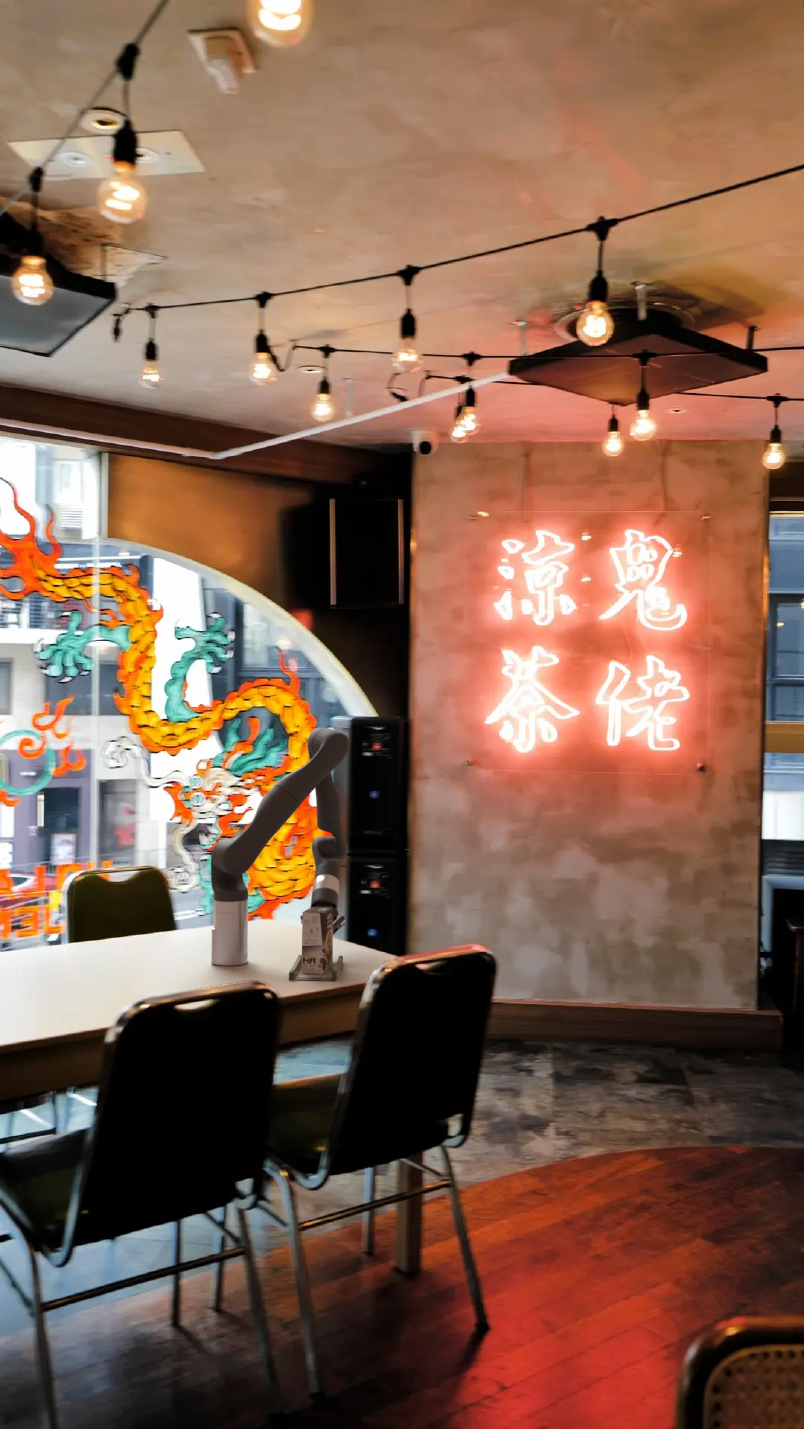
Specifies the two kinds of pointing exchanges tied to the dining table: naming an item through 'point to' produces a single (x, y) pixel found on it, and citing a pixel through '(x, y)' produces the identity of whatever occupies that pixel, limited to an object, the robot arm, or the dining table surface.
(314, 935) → the coffee box
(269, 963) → the dining table surface
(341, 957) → the lane frame
